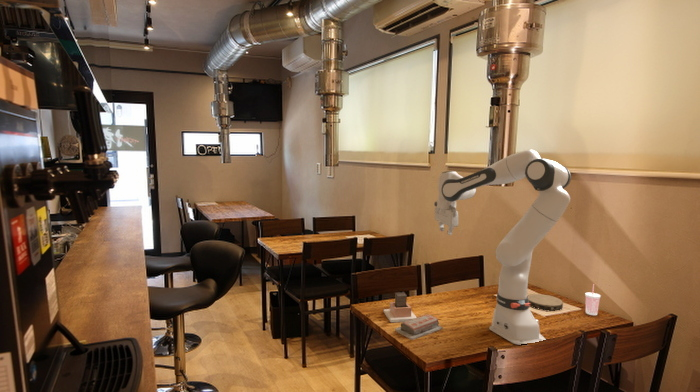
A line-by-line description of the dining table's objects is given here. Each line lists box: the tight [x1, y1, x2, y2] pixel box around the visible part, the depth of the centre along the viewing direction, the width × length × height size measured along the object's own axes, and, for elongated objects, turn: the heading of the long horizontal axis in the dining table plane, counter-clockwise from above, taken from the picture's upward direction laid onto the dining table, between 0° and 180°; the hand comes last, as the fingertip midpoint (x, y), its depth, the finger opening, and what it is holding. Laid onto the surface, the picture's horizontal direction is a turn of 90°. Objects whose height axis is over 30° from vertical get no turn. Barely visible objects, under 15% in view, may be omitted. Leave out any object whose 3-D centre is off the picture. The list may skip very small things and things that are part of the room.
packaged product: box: [394, 314, 444, 341], centre depth 168 cm, size 18×5×10 cm
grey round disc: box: [527, 293, 564, 312], centre depth 199 cm, size 16×16×3 cm
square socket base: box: [383, 301, 418, 323], centre depth 182 cm, size 12×12×5 cm
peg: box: [394, 291, 408, 308], centre depth 181 cm, size 4×4×9 cm
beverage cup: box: [584, 283, 602, 316], centre depth 188 cm, size 6×6×14 cm
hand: (445, 232), depth 199 cm, fingers open, 8 cm apart
